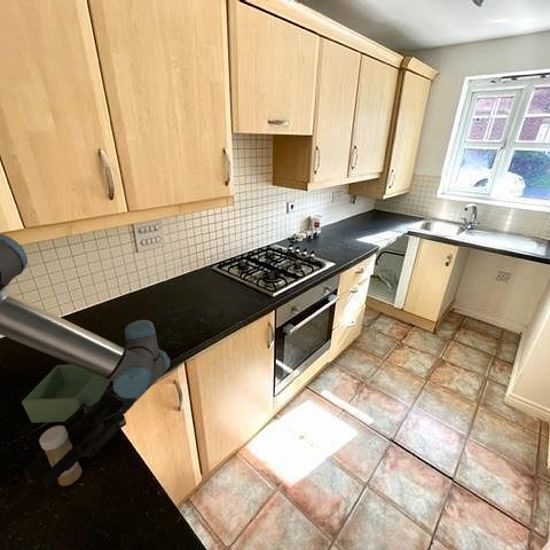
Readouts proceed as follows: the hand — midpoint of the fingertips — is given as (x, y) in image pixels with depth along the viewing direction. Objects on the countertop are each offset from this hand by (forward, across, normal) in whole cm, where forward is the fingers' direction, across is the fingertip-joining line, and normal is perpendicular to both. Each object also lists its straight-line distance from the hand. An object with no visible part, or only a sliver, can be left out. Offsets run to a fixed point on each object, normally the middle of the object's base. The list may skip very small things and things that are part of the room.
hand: (36, 478), depth 60 cm
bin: (-23, +20, -8) cm, 31 cm away
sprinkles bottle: (-5, 0, -7) cm, 9 cm away
